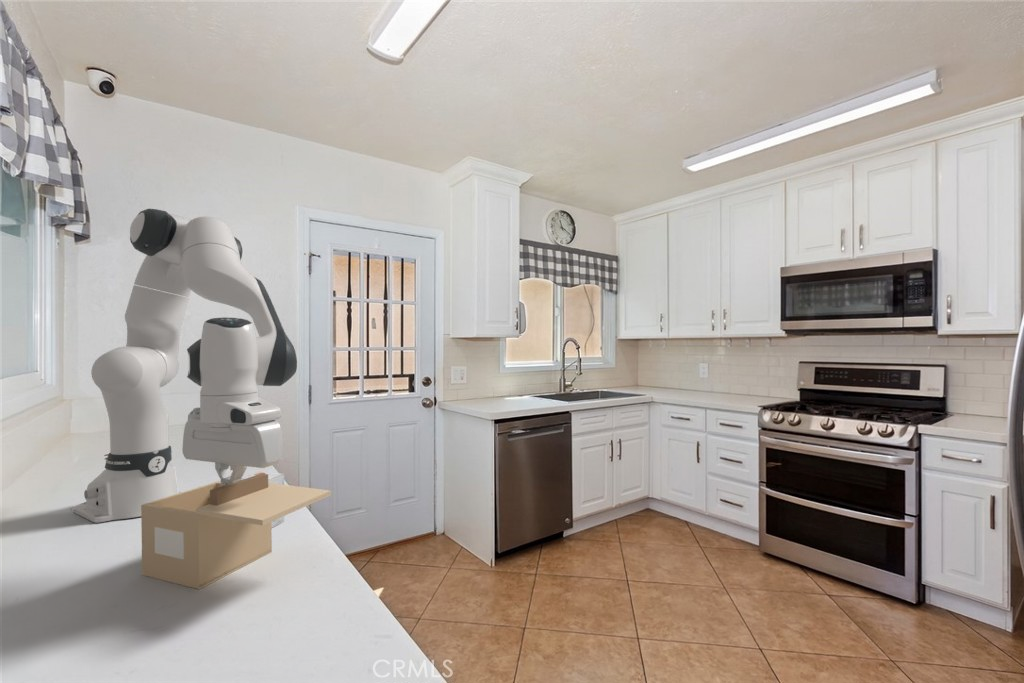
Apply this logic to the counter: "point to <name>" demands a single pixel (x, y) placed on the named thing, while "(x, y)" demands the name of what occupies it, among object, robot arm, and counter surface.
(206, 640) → the counter surface
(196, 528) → the carton
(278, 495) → the carton lid
